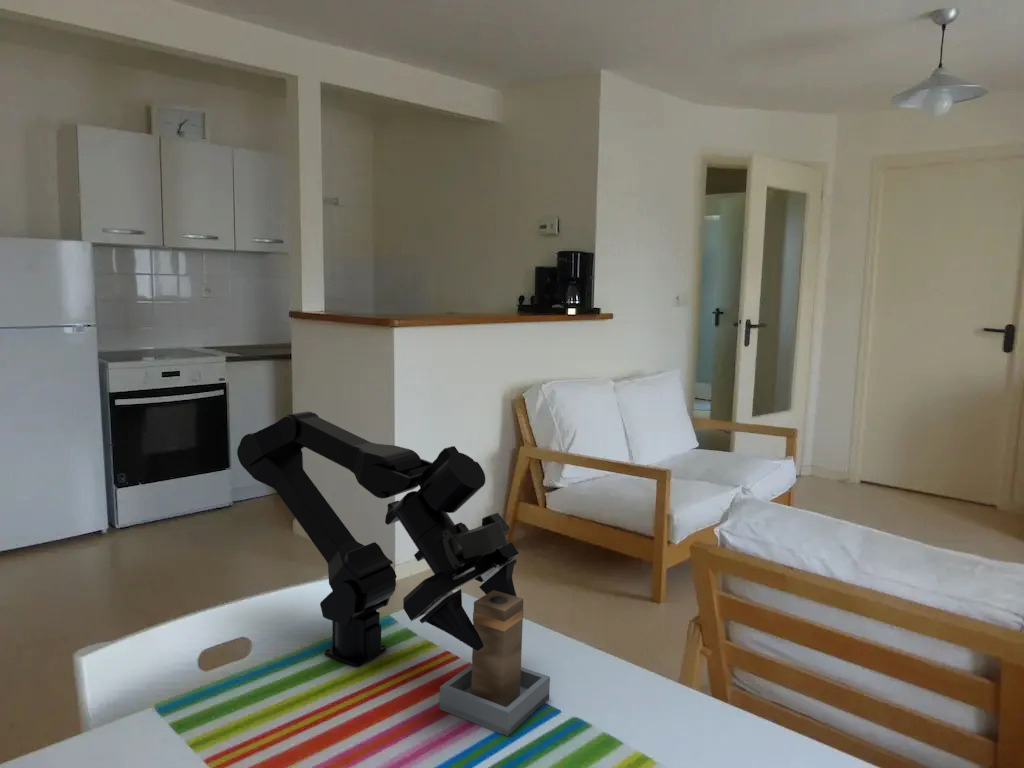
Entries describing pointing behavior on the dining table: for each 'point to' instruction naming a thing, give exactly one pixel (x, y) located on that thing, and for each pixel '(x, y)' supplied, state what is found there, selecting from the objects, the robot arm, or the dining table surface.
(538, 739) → the dining table surface
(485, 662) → the block
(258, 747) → the dining table surface
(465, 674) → the tray
